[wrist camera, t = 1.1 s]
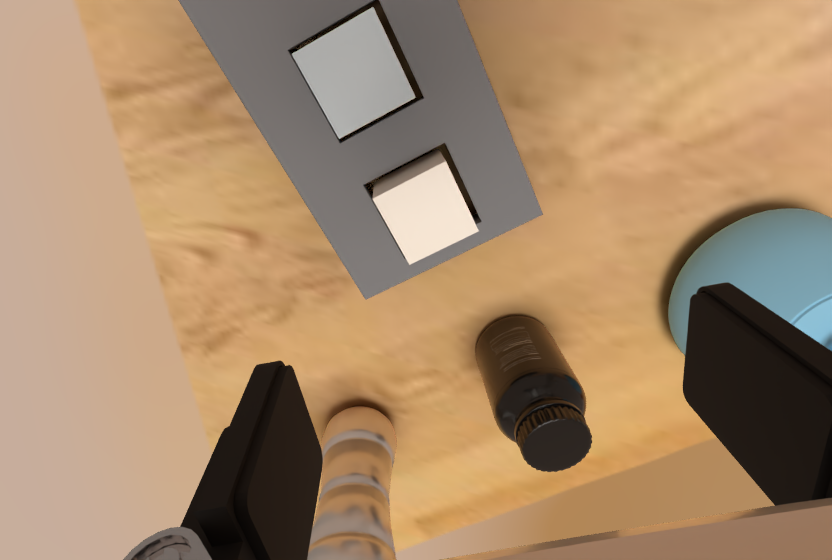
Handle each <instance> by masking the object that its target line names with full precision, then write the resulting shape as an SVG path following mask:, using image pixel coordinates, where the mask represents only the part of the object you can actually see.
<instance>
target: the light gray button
mask: <svg viewBox="0 0 832 560" xmlns="http://www.w3.org/2000/svg"><path fill="white" fill-rule="evenodd" d="M292 56H293V57H294V59H295V61H296V63H297V65H298V66H299V68H300V70H301V72H302V74H303V75H304V77H305V79H306V81H307V83H308V84H309V86H310V88H311V90H312V91H313V93H314V95H315V97H316V99H317V100H318V102H319V104H320V106H321V108H322V109H323V111H324V113H325V115H326V117H327V118H328V120H329V122H330V124H331V125H332V127H333V129H334V131H335V133H336V134H337V136H338V138H339V139H340V138H342V137H344V136H346V135H348V134H349V133H351V132H353V131H355V130H357V129H359V128H361V127H362V126H364V125H366V124H368V123H370V122H372V121H373V120H375V119H377V118H379V117H381V116H383V115H385V114H386V113H388V112H390V111H392V110H394V109H396V108H397V107H399V106H401V105H403V104H405V103H407V102H409V101H410V100H412V99H414V98H416V97H415V94H414V92H413V90H412V88H411V86H410V84H409V82H408V80H407V77H406V75H405V73H404V71H403V69H402V67H401V65H400V63H399V60H398V58H397V56H396V54H395V52H394V50H393V48H392V46H391V44H390V41H389V39H388V37H387V35H386V33H385V31H384V29H383V27H382V24H381V22H380V20H379V18H378V16H377V14H376V12H375V10H374V7H372V8H370V9H368V10H367V11H365V12H363V13H361V14H360V15H358V16H356V17H355V18H353V19H351V20H349V21H348V22H346V23H344V24H342V25H341V26H339V27H337V28H336V29H334V30H332V31H330V32H329V33H327V34H325V35H323V36H322V37H320V38H318V39H317V40H315V41H313V42H311V43H310V44H308V45H306V46H305V47H303V48H301V49H299V50H298V51H296V52H294V53H292Z"/></svg>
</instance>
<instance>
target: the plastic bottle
mask: <svg viewBox="0 0 832 560" xmlns="http://www.w3.org/2000/svg"><path fill="white" fill-rule="evenodd" d="M396 447H397V440H396V436H395V432H394V428H393V425H392V424H391V422H390V420H389V419H388V418H387V417H386V416H384V415H383V414H382V413H380V412H379V411H377V410H375V409H373V408H369V407H364V406H355V407H350V408H347V409H345V410H343V411H341V412H340V413H338V414H336V415H335V416H334V417H333V418H332V419H331V420H330V421H329V423H328V425H327V427H326V429H325V432H324V434H323V436H322V442H321V450H322V457H323V467H322V483H321V494H320V498H319V504H318V507H317V511H316V516H315V520H314V524H313V527H312V533H311V539H310V545H309V551H308V557H307V560H396V557H395V549H394V543H393V536H392V530H391V524H390V507H389V506H390V505H389V491H390V481H391V471H392V466H393V463H394V459H395V453H396Z"/></svg>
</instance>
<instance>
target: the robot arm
mask: <svg viewBox="0 0 832 560" xmlns="http://www.w3.org/2000/svg"><path fill="white" fill-rule="evenodd" d="M683 393H684V396H685V399H686V401H687V402H688V404H689V405H690V406H691V407H692V408H693V410H694V411H695V412H696V413H697V414H698V416H699V417H700V418H701V419H702V420H703V421H704V423H705V424H706V425H707V426H708V427H709V428H710V430H711V431H712V432H713V433H714V434H715V435H716V437H717V438H718V439H719V440H720V441H721V442H722V444H723V445H724V446H725V447H726V448H727V450H728V451H729V452H730V453H731V454H732V455H733V456H734V458H735V459H736V460H737V461H738V462H739V464H740V465H741V466H742V467H743V468H744V469H745V470H746V472H747V473H748V474H749V475H750V476H751V478H752V479H753V480H754V481H755V482H756V484H757V485H758V486H759V487H760V488H761V489H762V491H763V492H764V493H765V494H766V495H767V496H768V498H769V499H770V500H771V501H772V502H773V503H774V505H775V506H770V507H764V508H758V509H752V510H745V511H738V512H732V513H726V514H720V515H713V516H706V517H700V518H694V519H687V520H681V521H675V522H668V523H662V524H655V525H649V526H644V527H637V528H630V529H624V530H618V531H612V532H605V533H599V534H594V535H587V536H581V537H574V538H569V539H562V540H557V541H550V542H544V543H538V544H532V545H525V546H519V547H513V548H507V549H501V550H495V551H489V552H483V553H477V554H471V555H466V556H459V557H453V558H447V559H441V560H832V351H831V350H829V349H828V348H826V347H825V346H823V345H822V344H820V343H819V342H817V341H816V340H814V339H813V338H811V337H810V336H808V335H807V334H805V333H804V332H802V331H801V330H799V329H798V328H796V327H795V326H794V325H792V324H791V323H789V322H788V321H786V320H785V319H783V318H782V317H780V316H779V315H777V314H776V313H774V312H773V311H771V310H770V309H768V308H767V307H765V306H764V305H762V304H761V303H759V302H758V301H756V300H755V299H753V298H752V297H750V296H749V295H748V294H746V293H745V292H743V291H742V290H740V289H739V288H737V287H736V286H734V285H733V284H731V283H728V282H726V283H719V284H714V285H708V286H702V287H700V288H699V289H698V290H697V293H696V294H694V295H692V296H691V298H690V306H689V318H688V330H687V342H686V354H685V366H684V378H683ZM322 465H323V457H322V450H321V447H320V444H319V441H318V438H317V435H316V433H315V430H314V427H313V424H312V421H311V418H310V415H309V413H308V410H307V407H306V404H305V401H304V398H303V395H302V392H301V390H300V387H299V384H298V381H297V378H296V375H295V372H294V370H293V368H292V366H290V365H288V366H285V365H284V363H283V362H282V361H276V362H270V363H264V364H259V365H256V367H255V368H254V370H253V373H252V375H251V377H250V380H249V382H248V384H247V387H246V389H245V391H244V394H243V396H242V398H241V401H240V403H239V405H238V408H237V410H236V412H235V415H234V417H233V419H232V422H231V424H230V426H228V427H227V428H225V429H224V431H223V432H222V434H221V436H220V438H219V440H218V443H217V445H216V447H215V449H214V452H213V454H212V456H211V459H210V461H209V463H208V465H207V468H206V470H205V472H204V475H203V477H202V479H201V481H200V483H199V486H198V488H197V490H196V492H195V495H194V497H193V499H192V501H191V504H190V506H189V508H188V510H187V513H186V515H185V517H184V520H183V522H182V524H181V526H180V527H175V528H169V529H166V530H163V531H160V532H157V533H156V534H154V535H152V536H150V537H148V538H147V539H145V540H143V541H142V542H141V543H140V544H139V545H138V546H136V547H135V548H134V549H132V550H131V552H129V554H128V555H127V556H126V557H125V558H124V559H123V560H307V557H308V551H309V545H310V539H311V533H312V527H313V521H314V514H315V508H316V502H317V496H318V490H319V484H320V478H321V472H322Z"/></svg>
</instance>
